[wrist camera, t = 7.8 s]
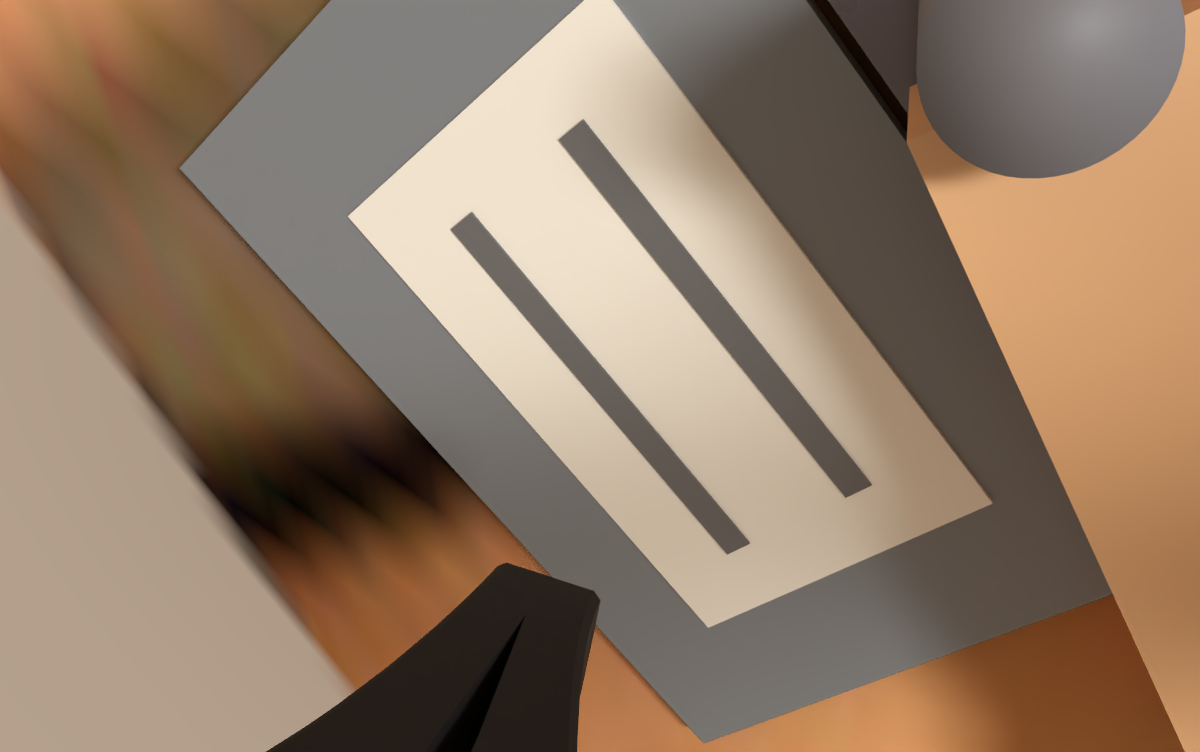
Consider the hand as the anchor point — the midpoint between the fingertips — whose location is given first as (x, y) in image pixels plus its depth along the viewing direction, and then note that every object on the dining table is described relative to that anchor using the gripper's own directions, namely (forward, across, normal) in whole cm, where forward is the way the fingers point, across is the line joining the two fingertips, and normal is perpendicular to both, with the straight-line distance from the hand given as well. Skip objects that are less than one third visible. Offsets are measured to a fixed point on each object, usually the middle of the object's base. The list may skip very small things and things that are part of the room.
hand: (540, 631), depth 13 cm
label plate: (+8, 0, 0) cm, 9 cm away
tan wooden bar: (+7, -9, -2) cm, 12 cm away
